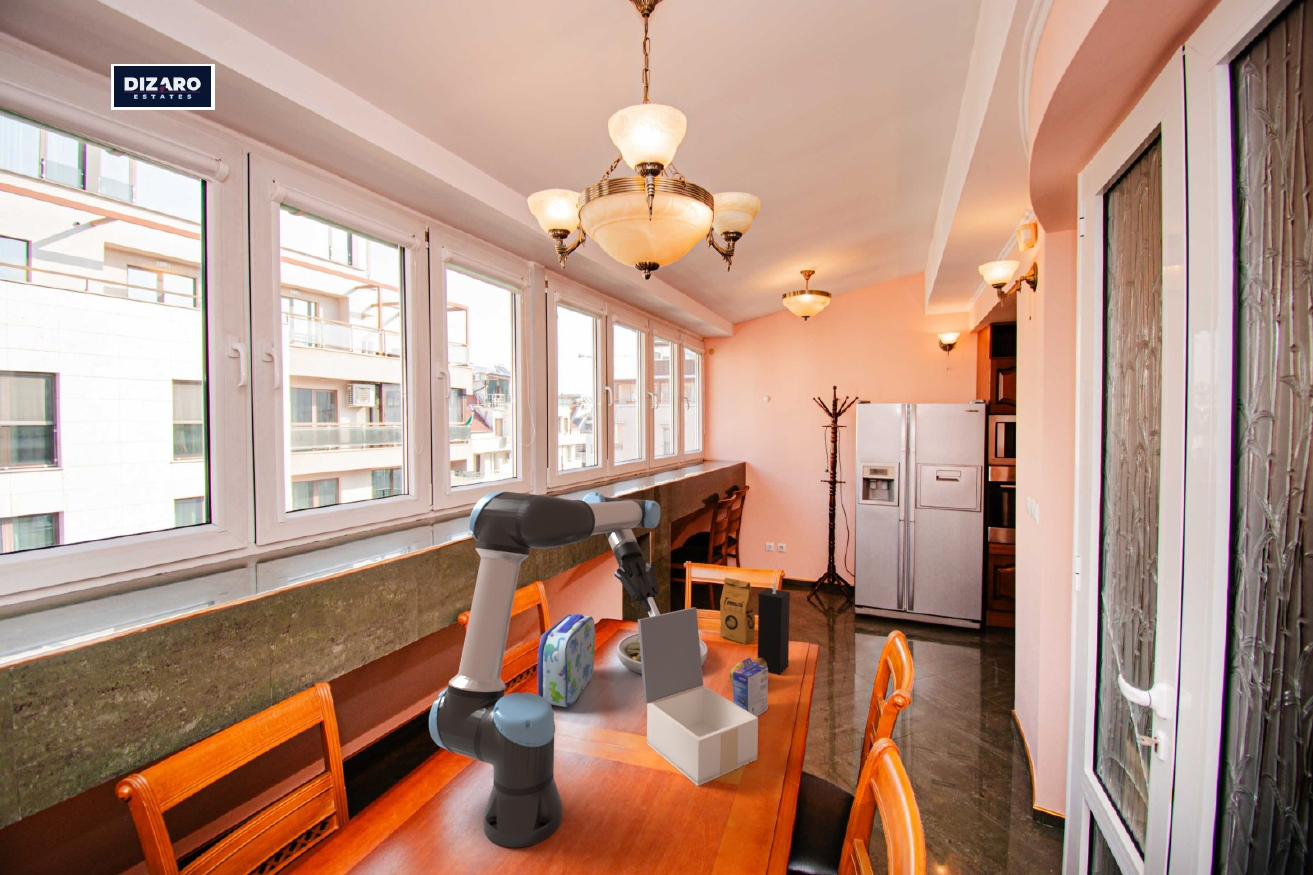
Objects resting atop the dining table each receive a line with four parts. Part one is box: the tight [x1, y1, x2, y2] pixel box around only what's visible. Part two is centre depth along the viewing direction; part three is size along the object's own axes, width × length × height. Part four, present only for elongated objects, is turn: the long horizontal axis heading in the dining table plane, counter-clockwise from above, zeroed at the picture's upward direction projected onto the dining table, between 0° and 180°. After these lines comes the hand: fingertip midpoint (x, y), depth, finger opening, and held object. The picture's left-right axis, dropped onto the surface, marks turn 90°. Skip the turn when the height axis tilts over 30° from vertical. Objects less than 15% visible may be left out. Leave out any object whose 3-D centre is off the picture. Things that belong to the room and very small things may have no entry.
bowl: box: [616, 632, 708, 675], centre depth 192 cm, size 30×30×8 cm
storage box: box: [646, 684, 759, 787], centre depth 138 cm, size 20×18×10 cm
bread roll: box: [728, 657, 767, 686], centre depth 174 cm, size 13×10×8 cm
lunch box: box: [537, 613, 596, 708], centre depth 168 cm, size 26×11×21 cm, turn 168°
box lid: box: [637, 607, 704, 704], centre depth 148 cm, size 20×18×1 cm
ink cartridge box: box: [732, 657, 769, 717], centre depth 157 cm, size 10×6×14 cm, turn 137°
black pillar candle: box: [757, 582, 791, 676], centre depth 186 cm, size 8×8×28 cm
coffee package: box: [719, 577, 756, 646], centre depth 211 cm, size 10×12×22 cm
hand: (657, 621), depth 154 cm, fingers closed
